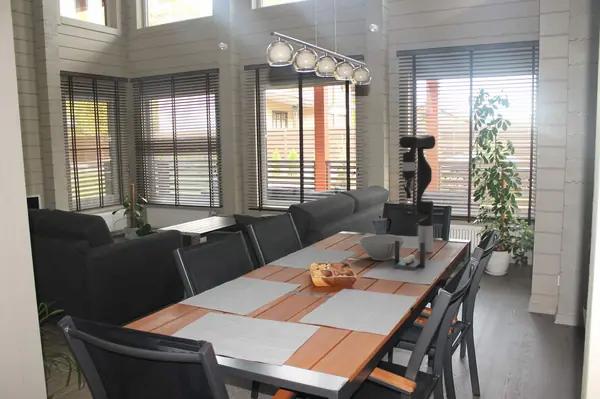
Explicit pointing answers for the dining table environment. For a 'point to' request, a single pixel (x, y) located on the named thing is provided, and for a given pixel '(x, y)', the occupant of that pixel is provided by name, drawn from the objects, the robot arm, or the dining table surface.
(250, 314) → the dining table surface
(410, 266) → the panel
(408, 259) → the paddles
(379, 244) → the decorative bowl
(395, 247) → the dark gray rounded rod
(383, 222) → the moka pot
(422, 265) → the cord post
